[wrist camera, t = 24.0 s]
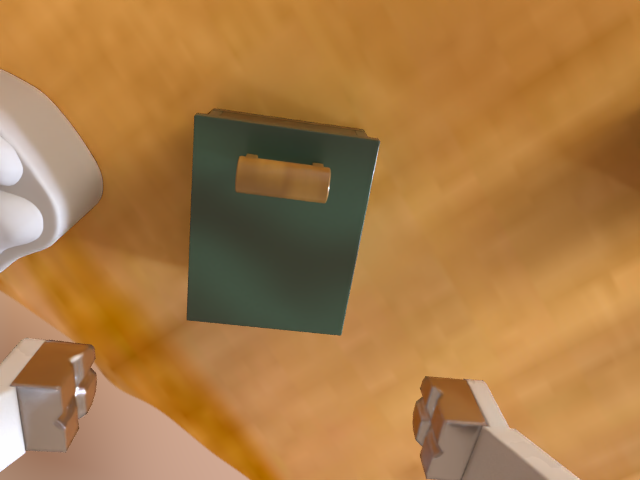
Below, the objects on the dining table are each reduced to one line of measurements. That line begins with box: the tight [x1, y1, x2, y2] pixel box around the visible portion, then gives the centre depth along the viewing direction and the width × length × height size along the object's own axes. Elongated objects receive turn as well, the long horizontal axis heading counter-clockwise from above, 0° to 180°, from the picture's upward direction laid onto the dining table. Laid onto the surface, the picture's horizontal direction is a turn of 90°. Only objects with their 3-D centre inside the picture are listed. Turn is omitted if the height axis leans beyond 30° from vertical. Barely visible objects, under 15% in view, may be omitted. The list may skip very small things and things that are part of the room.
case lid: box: [187, 113, 380, 335], centre depth 30 cm, size 14×11×5 cm
